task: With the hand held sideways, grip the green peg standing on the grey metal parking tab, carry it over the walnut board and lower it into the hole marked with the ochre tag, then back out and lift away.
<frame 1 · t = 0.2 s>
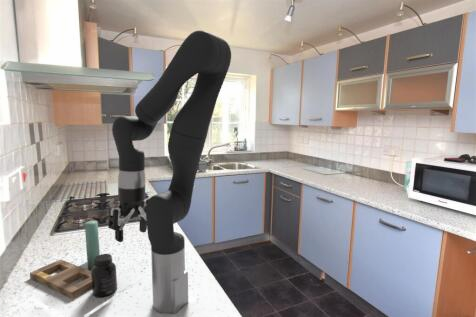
hand: (131, 236, 86), 18 cm above the countertop, tool pointing down, fingers open, 8 cm apart
parking tab: (94, 268, 101), on the countertop
supplement bottle: (105, 294, 87), on the countertop
peg: (94, 265, 101), point 1 cm above the countertop, touching parking tab
hole board: (66, 282, 92), on the countertop
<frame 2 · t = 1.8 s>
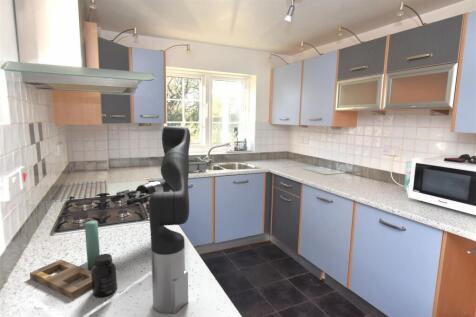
hand: (119, 201, 108), 21 cm above the countertop, tool horizontal, fingers open, 8 cm apart
nothing on the countertop moved.
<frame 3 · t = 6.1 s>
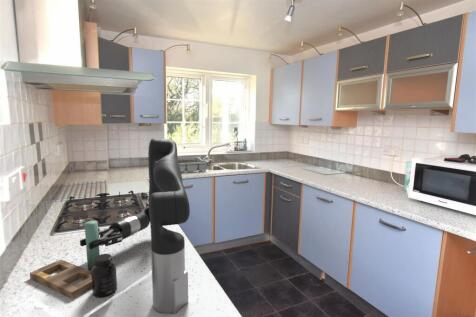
hand: (85, 244, 97), 10 cm above the countertop, tool horizontal, fingers closed on peg, 4 cm apart
peg: (94, 265, 101), point 1 cm above the countertop, touching gripper, parking tab
everything else where it was.
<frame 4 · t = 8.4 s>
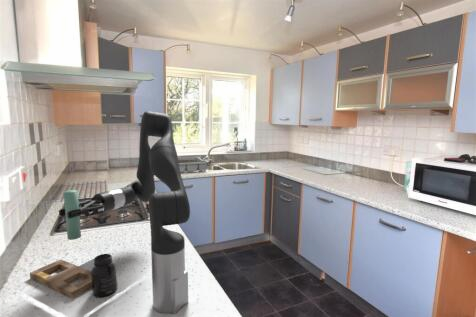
hand: (64, 214, 92), 22 cm above the countertop, tool horizontal, fingers closed on peg, 4 cm apart
peg: (74, 237, 96), point 13 cm above the countertop, touching gripper
everything else where it was.
when the fingers open (10 cm above the countertop, at t = 11.0 s): peg drops 1 cm, resting in hole board.
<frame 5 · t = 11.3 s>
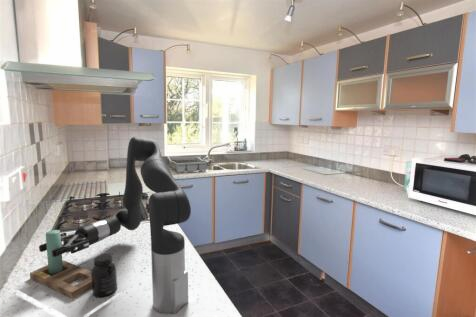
hand: (46, 251, 91), 11 cm above the countertop, tool horizontal, fingers open, 6 cm apart
peg: (56, 278, 95), resting in hole board
everything else where it was.
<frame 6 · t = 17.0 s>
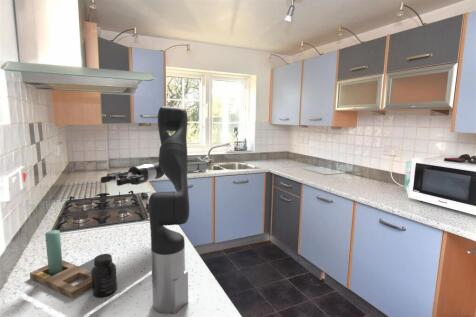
hand: (109, 181, 104), 30 cm above the countertop, tool horizontal, fingers open, 8 cm apart
nothing on the countertop moved.
at the end: peg 0.1 cm from the target spot on the hole board, point 0.0 cm above the hole board's base; peg tilted 0°; the gripper is holding nothing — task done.
